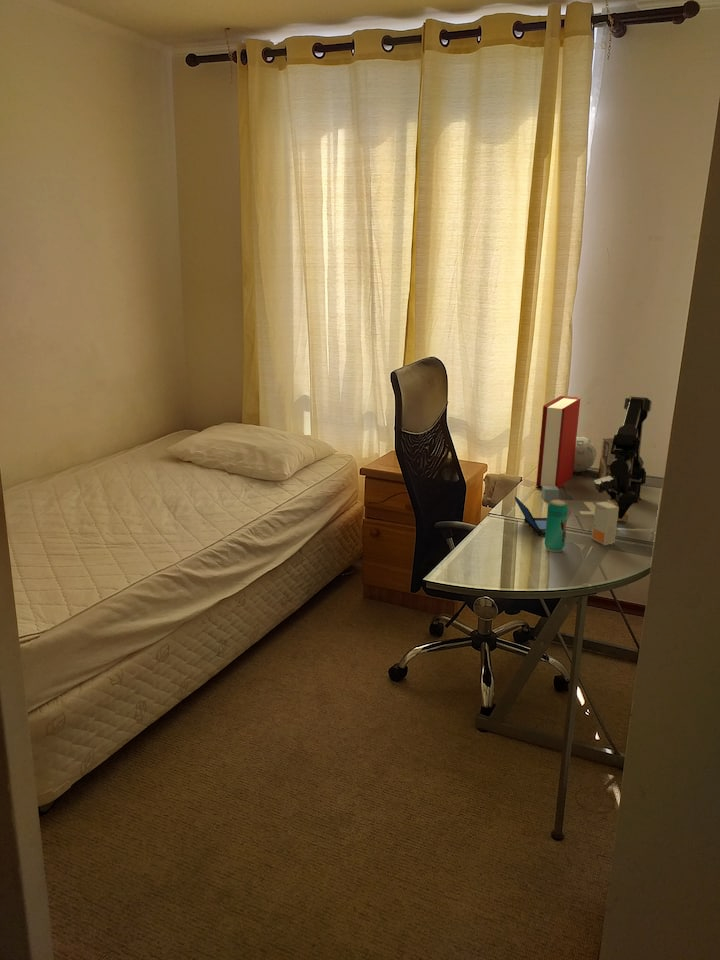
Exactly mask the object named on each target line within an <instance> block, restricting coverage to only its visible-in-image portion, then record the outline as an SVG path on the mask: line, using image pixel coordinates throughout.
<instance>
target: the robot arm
mask: <svg viewBox="0 0 720 960" xmlns="http://www.w3.org/2000/svg"><path fill="white" fill-rule="evenodd" d="M652 403H653V402H652V400H650V398H649V397H644V396H643V397H642V396H640V397H639V396H629V397H628V398H627V397H626V398H625V400H624V405H623V410H626V411H625V412H626V413H625V416H624V420H623V424H622V426H619V427H618V428H617V431H616V434H614V435H613V438H614V439H613V443H612V448H611V454H614V455H615V459H614V460H613V462H612V463H611V465H610V476H608V477H603V478H600V477H599V478H598V479H594V480H593V483H594V484H593V485H594V488H595V491H597V492H598V494H599V493H601V494H602V493H606V494H608V496H609V498H610V500H615V501H616V502H617V503H618V507H619V511H618V518H619V519H622V518H623V516H624V515H625V513H626V512H627V510H628V509H629V510H630V507H631V506H632V505H633V504H638V503H639V501H641V500H642V498H641V497H640V496H641V495H640V494H641V487H642V485H645V484H646V481H647V471H646V467H644V464H645V463H644V460H643V459H642V457H641V445H642V435H643V426H644V422H645V420H646V419H647V418H648V415H649V412H651V409H652ZM614 448H616V449H615V450H614ZM617 449H620V450H617Z"/></svg>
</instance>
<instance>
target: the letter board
mask: <svg viewBox="0 0 720 960" xmlns="http://www.w3.org/2000/svg"><path fill="white" fill-rule="evenodd" d="M563 500H564V501H566V502H567V506H568V511H570V512H571V514H572V515H573V516H574V517H594V513H595V505H596V503H599V502H608V500H579V499H578V500H576V499H575V500H574V499H572V500H571V499H563Z"/></svg>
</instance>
